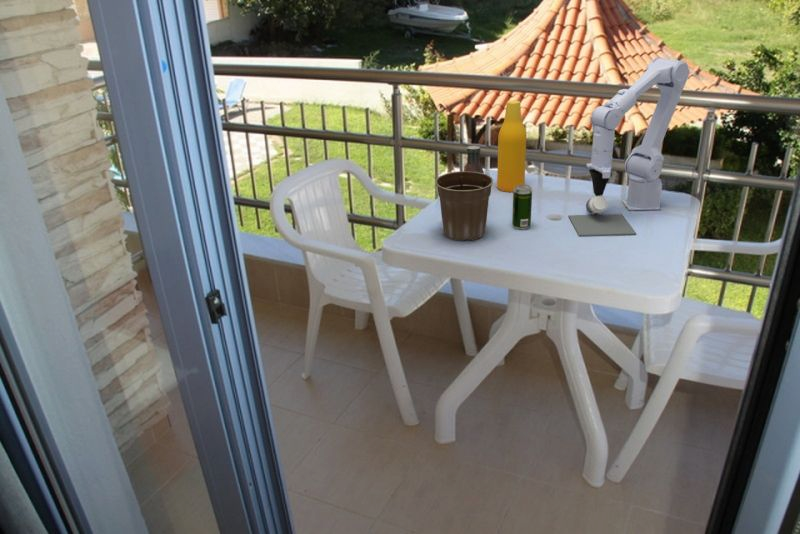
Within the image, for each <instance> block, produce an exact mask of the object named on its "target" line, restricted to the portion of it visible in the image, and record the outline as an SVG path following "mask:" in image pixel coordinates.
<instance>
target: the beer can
mask: <svg viewBox="0 0 800 534" xmlns="http://www.w3.org/2000/svg"><path fill="white" fill-rule="evenodd" d="M512 193H513V194H512V221H511V224H512V227H513V228H514V229H516V230H521V229H522V230H523V229H524V230H527V229H529V228H531V225H532V205H533V190H532V186H530V185H527V184H525V185H517V186H515V187H514V190H513V192H512Z"/></svg>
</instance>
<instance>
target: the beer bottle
mask: <svg viewBox="0 0 800 534" xmlns="http://www.w3.org/2000/svg"><path fill="white" fill-rule="evenodd" d="M521 109H522V108H521V101H519V100H508V101H506V107H505V113H504V114H505V115H504V120H503V123H502V125H501V127H500V130H499V132H498V137H497V139H498V141H497V172H496V173H497V174H496V175H497V177H496V187H497V189H498V190H499V191H502V192H504V191H505V192H506V193H513V190H514V187H515V186H517V185H526V175H525V174H526V156H527V132H526V127H525V126H524V123H523V121H522V110H521Z"/></svg>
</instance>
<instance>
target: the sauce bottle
mask: <svg viewBox="0 0 800 534" xmlns="http://www.w3.org/2000/svg"><path fill="white" fill-rule="evenodd" d="M466 153H467V159H466V161H467V162H466V163H465V165H464V168H463V171H470V172H479V173H484V172H485V171H484V170H483V167H482V164H481V161H480V160H481V159H480V158H481V147H480V146H478V145H470V146H467V147H466ZM484 174H485V173H484Z"/></svg>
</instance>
